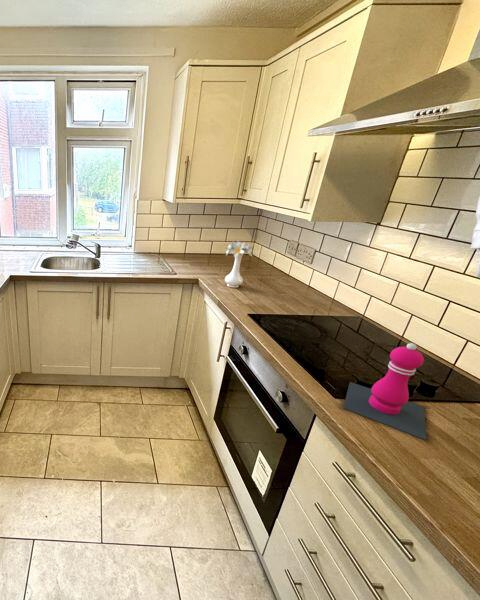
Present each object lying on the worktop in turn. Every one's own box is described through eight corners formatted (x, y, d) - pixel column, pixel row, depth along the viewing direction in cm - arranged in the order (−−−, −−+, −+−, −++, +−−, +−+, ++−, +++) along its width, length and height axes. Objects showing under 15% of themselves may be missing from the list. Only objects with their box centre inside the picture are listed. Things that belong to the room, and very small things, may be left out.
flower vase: (239, 281, 185) (248, 238, 176) (248, 291, 169) (259, 245, 159) (216, 279, 188) (223, 237, 178) (223, 290, 171) (231, 244, 161)
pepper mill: (407, 412, 84) (440, 347, 77) (391, 419, 82) (423, 353, 74) (375, 395, 91) (403, 334, 83) (360, 401, 88) (387, 339, 81)
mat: (423, 407, 87) (423, 406, 87) (426, 440, 76) (426, 439, 76) (349, 382, 97) (349, 381, 97) (343, 408, 86) (343, 407, 86)
